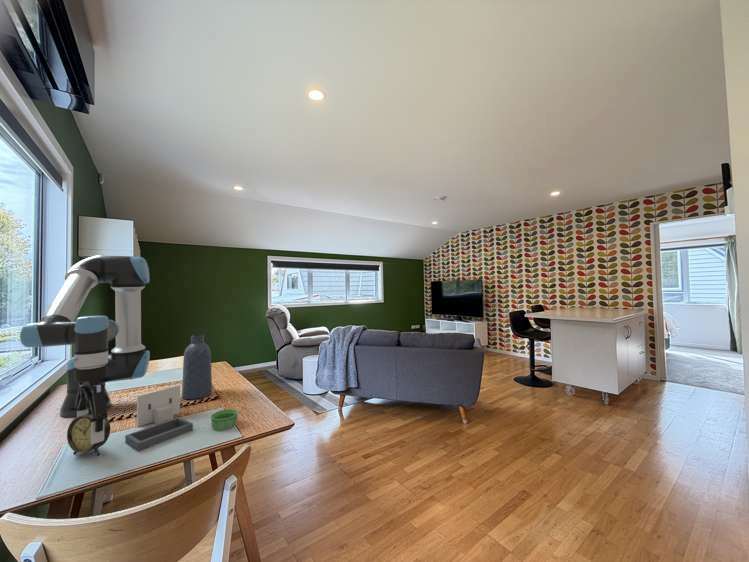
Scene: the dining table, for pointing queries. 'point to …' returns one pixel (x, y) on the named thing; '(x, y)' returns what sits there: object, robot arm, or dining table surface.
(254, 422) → the dining table surface
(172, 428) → the dock
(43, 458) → the dining table surface
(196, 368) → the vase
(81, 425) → the alarm clock
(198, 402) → the dining table surface
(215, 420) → the ramekin
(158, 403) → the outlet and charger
